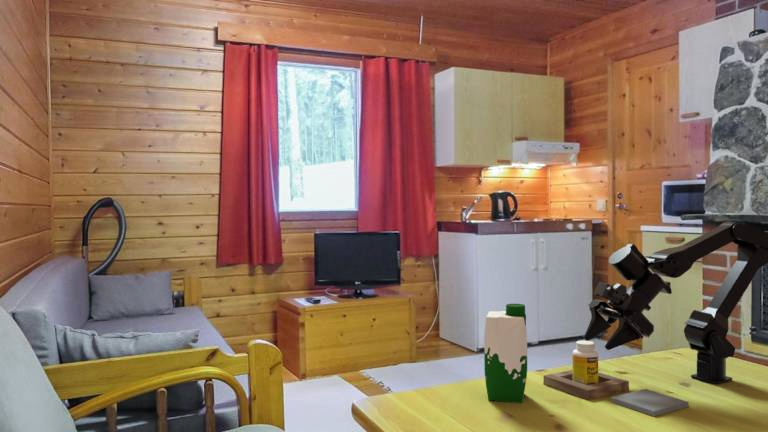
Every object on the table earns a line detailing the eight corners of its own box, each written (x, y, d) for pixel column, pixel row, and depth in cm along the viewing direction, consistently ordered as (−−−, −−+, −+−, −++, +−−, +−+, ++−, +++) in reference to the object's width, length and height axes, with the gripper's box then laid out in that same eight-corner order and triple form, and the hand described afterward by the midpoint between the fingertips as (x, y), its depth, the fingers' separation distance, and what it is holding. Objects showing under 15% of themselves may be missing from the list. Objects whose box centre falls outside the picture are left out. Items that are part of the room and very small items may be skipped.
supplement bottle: (587, 392, 130) (587, 346, 130) (567, 386, 135) (567, 341, 135) (603, 388, 133) (603, 342, 133) (583, 382, 138) (583, 338, 138)
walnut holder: (583, 375, 143) (583, 367, 143) (628, 390, 131) (628, 381, 131) (543, 384, 136) (543, 375, 136) (588, 399, 125) (588, 390, 125)
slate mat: (645, 393, 129) (645, 388, 129) (688, 406, 120) (688, 401, 120) (611, 402, 123) (611, 397, 123) (653, 416, 115) (653, 411, 115)
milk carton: (526, 405, 122) (526, 308, 122) (482, 401, 125) (482, 307, 124) (528, 392, 131) (527, 302, 130) (486, 389, 133) (486, 301, 133)
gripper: (596, 266, 144) (553, 312, 142) (641, 274, 126) (593, 327, 124) (625, 297, 145) (583, 343, 144) (674, 310, 127) (627, 363, 125)
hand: (595, 343), depth 134 cm, fingers open, 9 cm apart
